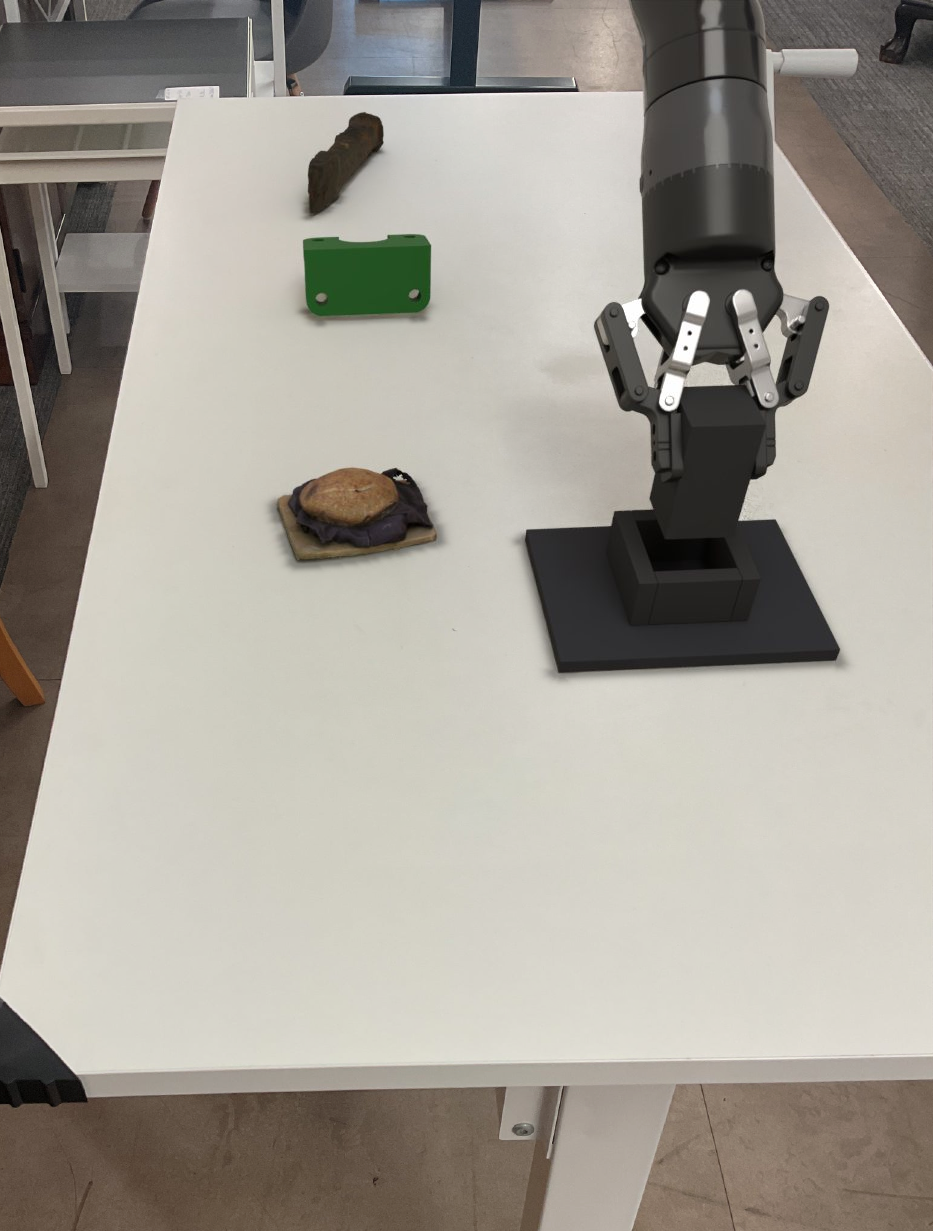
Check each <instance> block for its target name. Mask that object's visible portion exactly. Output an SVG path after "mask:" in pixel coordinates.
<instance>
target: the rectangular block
mask: <svg viewBox="0 0 933 1231" xmlns="http://www.w3.org/2000/svg"><path fill="white" fill-rule="evenodd" d="M677 413H682V443H683V463H684V472H683V476H682V478H681V479H679V480H677V481H675V482H668V483H663V482H662V479H661V473H655V472H654V476H653V479H652V484H651V488H650V494H649V502H650V505H651V507H652V509H653V510H654V512H655V515H656V518H657V520H658V523H659V525H660V528H661V531H662V533H663V536H664V538H665V540H669V539H695V538H721V537H734V534H735V531H736V527H737V524H738V521H740V516H741V513H742V510H743V507H744V503H745V499H746V496H747V492H748V490H749V485H750V482H751V480H750V479H751V475H752V472H753V468H754V465H755V462H756V458H757V455H758V452H759V448H760V445H761V441H762V438H763V434H764V431H765V427H766V422H765V420H764V418H763V416H762V415H761V413H760V411H759V409H758V407H757V405H756V403H755V402H754V400H753V398H752V396H751V394H750V392H749V390H748V388H747V387H746V385H734V384H725V385H724V384H723V385H698V386H697V385H694V386H693V385H692V386H684V388H683V391H682V395H681V398H680V402H679V405H678V407H677Z"/></svg>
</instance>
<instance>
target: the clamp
mask: <svg viewBox="0 0 933 1231" xmlns="http://www.w3.org/2000/svg"><path fill="white" fill-rule="evenodd" d="M386 237H387V238H386V239H382V240H375V241H374V240H373V241H348V240H342V239H340V236H322V237H318V236H317V237H309V238H304V239H302V253H303V254H302V256H303V265H304V266H303V268H304V269H303V270H304V292H305V302H306V303H305V304H306V306H307V309H308V310H309V312H310V313H311V314H313V315H314V316H316V317H343V316H344V317H345V316H367V315H370V316H371V315H394V314H416V313H420V312H422V311H424V310H425V309H427V307H428V305H429V304H430V301H431V293H432V292H431V290H432V289H431V285H432V244H431V243H430V241H429V239H428V238H427V237H426V235H425V234H419V233H403V234H402V233H401V234H399V233H398V234H387V236H386ZM412 291H417V295H416V296H414V297H410V293H411V292H412ZM321 294H324V295H325V296H326V298H325V299H324V300H322V301H321V300H318V299H317V297H318V296H319V295H321Z"/></svg>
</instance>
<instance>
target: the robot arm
mask: <svg viewBox="0 0 933 1231" xmlns="http://www.w3.org/2000/svg"><path fill="white" fill-rule="evenodd" d="M628 3H629V7H630V11H631V15H632V18H633V21H634V25H635V28H636V31H637V33H638V38H639V41H640V43H641V49H642V50H641V51H642V68H641V69H642V101H643V102H642V104H643V105H642V106H643V130H642V131H643V132H642V139H641V140H642V142H641V150H640V151H641V152H640V176H639V182H638V183H639V184H638V186H639V193H640V197H641V218H642V219H641V220H642V222H641V223H642V255H643V257H642V258H643V286H642V289H641V291H640V294H639V295H638V298H637V299H634V300H632V301H629V302H626V303H622V304H621V303H619V302H617V301H611V302H609V303H607V304H606V305H605V306H604V308H603V310H602V311H601V312H600V313H599V315H598V316H597V317H596V318H595V320H594V323H593V329H594V332H595V336H596V340H597V343H598V345H599V348H600V351H601V354H602V357H603V358H602V359H603V361H604V363H605V364H604V365H605V367H606V370H607V374H608V376H609V379H610V382H611V386H612V389H613V392H614V395H615V399H616V401H617V404H618V407H619V408H620V410H622V411H623V412H626V413H627V412H634V413H637V414H641V415H643V416H645V418H646V419H647V420H648V422H649V430H650V432H649V433H650V463H651V467H652V470H653V473H654V474H655V473H661V479H662V482H663V483H668V482H675V481H677V480H679V479H681V478H682V476H683V472H684V463H683V443H682V413H677V407H678V405H679V402H680V398H681V395H682V391H683V388H684V387H685V383H686V381H687V377H688V375H689V373H690V371H691V369H692V367H694V366H697V365H700V364H704V363H708V364H713V365H716V366H725V368H726V372H727V375H728V377H729V380H730V382H731V383H732V385H746V387H747V388H748V390H749V392H750V394H751V396H752V398H753V400H754V402H755V403H756V405H757V407H758V409H759V411H760V413H761V415H762V416H763V418H764V420H765V422H766V427H765V431H764V434H763V438H762V441H761V445H760V448H759V452H758V455H757V458H756V462H755V465H754V468H753V472H752V475H751V479H750V481H752V480H753V481H754V480H759V479H760V478H762V477H764V476H766V475H767V471H768V468H769V467H771V466H773V465H774V464H775V460H776V458H777V447H776V446H777V439H776V434H777V433H776V432H777V431H776V413H777V411H778V409H779V408H783V407H787V406H788V405H790V404H791V403H793V402H794V401H795V400H797V399H799V398H801V397H803V396H804V395H805V394H806V393H808V390H809V387H810V383H811V379H812V375H813V372H814V367H815V364H816V360H817V356H818V353H819V349H820V345H821V341H822V337H823V333H824V330H825V326H826V321H827V318H828V314H829V312H830V303H829V300H828V299H827V298H826V297H825V296H822V295H816V296H814V297H813V298H811V299H810V300H807V299H804V298H800V297H796V296H792V295H789V294H786V293H785V292H784V288H783V285H782V283H780V281H779V279H778V277H777V273H776V269H775V268H776V266H775V265H776V264H775V263H776V211H775V170H774V169H775V168H774V167H775V166H774V137H773V127H772V121H771V115H770V109H769V101H768V100H769V98H768V73H767V72H768V68H767V33H766V25H765V24H766V23H765V17H764V12H763V9H762V6H761V3H760V2H759V0H628ZM775 316H777V317H778V319H779V321H780V332H781V334H782V336H783V337H785V338H786V342H785V346H784V350H783V353H782V357H781V360H780V364H779V369H778V373H777V377H776V381H775V379H774V376H773V372H772V370H771V362H772V359H771V354H770V351H769V348H768V344H767V341H766V339H765V335H764V332H765V331H766V329H767V328H768V326H769V325H770V323H771V322H772V321H773V318H774V317H775ZM639 320H641V322H642V323H643V324H644V326H645V327H646V328H647V329H648V331H649V332H650V333H651V334H652V336H653V338H654V339H655V340H656V341H657V343H658V344H659V345H660V347H661V348H662V349H661V353H660V357H659V360H658V363H657V367H656V371H655V374H654V384H653V387H652V386H650V385H648V382H647V378H646V375H645V372H644V368H643V365H642V363H641V359H640V356H639V353H638V350H637V347H636V343H635V340H634V339H635V338H636V337H637V335H638V334H639Z"/></svg>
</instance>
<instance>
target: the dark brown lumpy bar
mask: <svg viewBox="0 0 933 1231" xmlns="http://www.w3.org/2000/svg"><path fill="white" fill-rule="evenodd" d="M384 136H385V132H384V125H383V121H382V119H381V118H380V117H379V116H378V115H374V114H372V113H368V112H366V111H362V112H358V113H356V114H353V115H352V116H351V117H349V119H348V125H347V128H346V129H345V130H344V131H342V132H339V134H336V135H335V138H334V142H333V144H332V145H331V146H330V147H329V148H328V149H327V150H320V151H319V150H318V152H317V153H316V154H315V155H314V157H313V158H311V160H310V161H309V164H308V168H307V182H308V184H307V194H308V205H309V213H310V214H314V213H317V212H319V211H322V210H323V209H325V208H327V206H329V205H330V204H331V203H333V202H334V201H335V200H338V198H339V196H340V191H341V190H340V189H341V187H342V185H343V184H344V183H345V182H346V181H347V180H348V179H349V178H350V177H352V176H353V175H354V173H355V172H356V170H357V168H358V167H359V166H360V165H361V164H362V163H363V162H364V161H365V160H366V159H367V158H368V156H369V155H370V154H371V153H376V152H377V153H378V152H379V151H380V149H381V148H382V147H383V145H384V143H385V142H384Z"/></svg>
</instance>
